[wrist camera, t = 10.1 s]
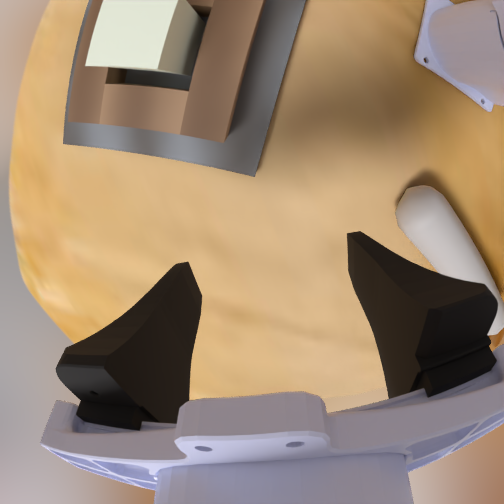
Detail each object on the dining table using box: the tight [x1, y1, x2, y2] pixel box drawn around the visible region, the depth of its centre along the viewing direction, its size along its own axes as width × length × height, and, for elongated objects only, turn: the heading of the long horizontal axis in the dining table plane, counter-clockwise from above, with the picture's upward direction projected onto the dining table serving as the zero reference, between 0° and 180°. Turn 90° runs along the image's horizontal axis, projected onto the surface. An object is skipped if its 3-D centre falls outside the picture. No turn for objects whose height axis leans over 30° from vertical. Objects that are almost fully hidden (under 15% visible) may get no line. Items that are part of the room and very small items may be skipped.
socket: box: [63, 0, 306, 177], centre depth 14 cm, size 16×16×4 cm
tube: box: [395, 185, 504, 335], centre depth 23 cm, size 5×5×25 cm
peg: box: [85, 0, 206, 76], centre depth 12 cm, size 4×4×7 cm
